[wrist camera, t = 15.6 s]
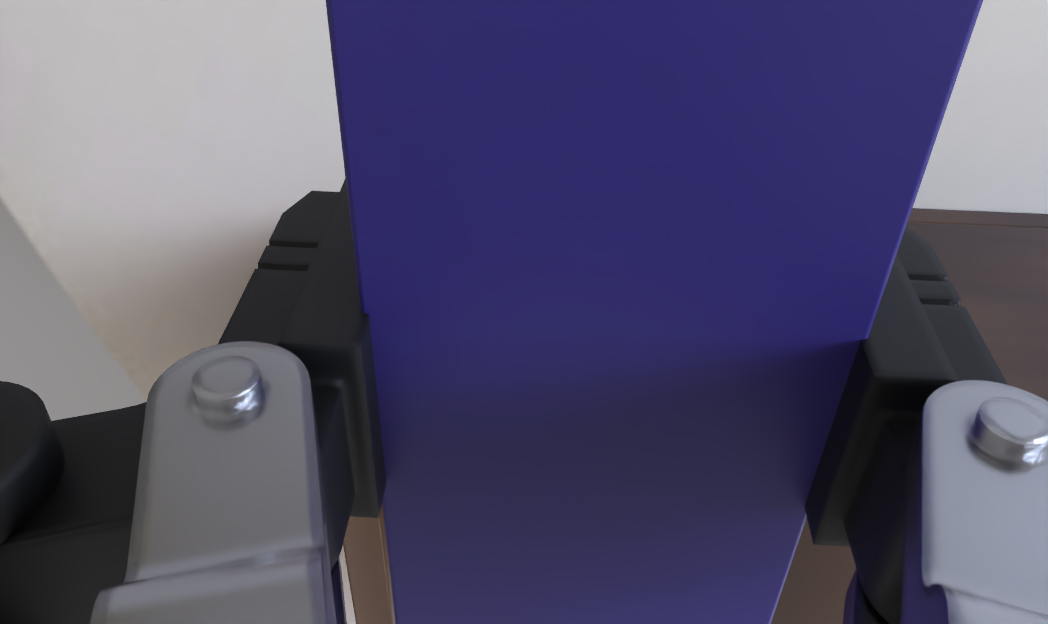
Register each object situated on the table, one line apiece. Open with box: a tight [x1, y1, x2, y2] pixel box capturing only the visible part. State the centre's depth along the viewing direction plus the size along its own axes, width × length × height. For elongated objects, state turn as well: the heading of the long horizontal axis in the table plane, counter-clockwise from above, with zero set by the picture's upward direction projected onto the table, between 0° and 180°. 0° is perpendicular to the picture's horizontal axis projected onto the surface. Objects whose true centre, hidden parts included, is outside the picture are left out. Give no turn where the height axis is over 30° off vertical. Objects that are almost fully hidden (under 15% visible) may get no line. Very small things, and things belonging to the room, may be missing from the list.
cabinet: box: [771, 209, 1048, 624], centre depth 29 cm, size 16×15×10 cm
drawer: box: [343, 505, 396, 624], centre depth 29 cm, size 20×14×8 cm, turn 89°
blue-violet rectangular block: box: [326, 0, 983, 624], centre depth 10 cm, size 4×9×4 cm, turn 178°
